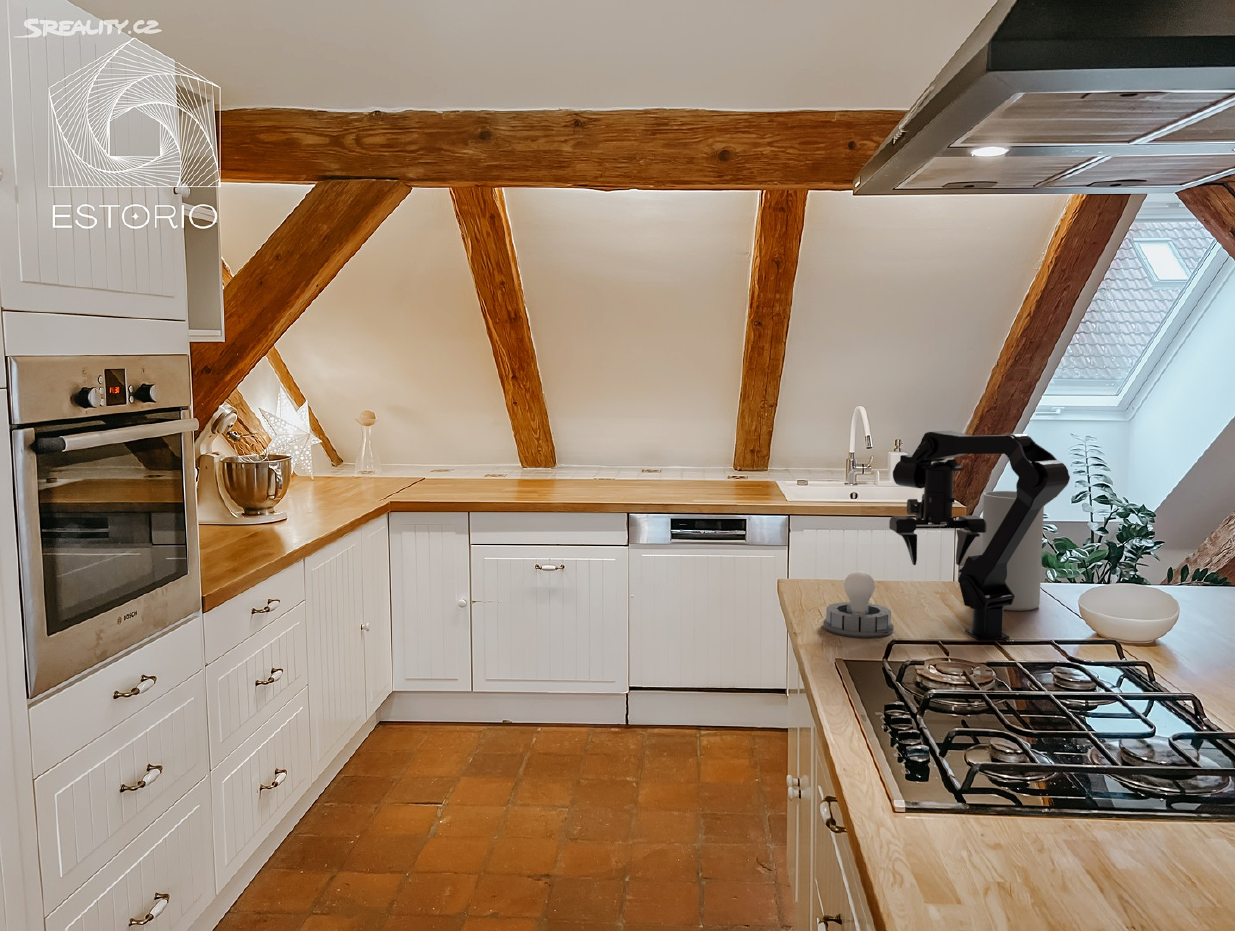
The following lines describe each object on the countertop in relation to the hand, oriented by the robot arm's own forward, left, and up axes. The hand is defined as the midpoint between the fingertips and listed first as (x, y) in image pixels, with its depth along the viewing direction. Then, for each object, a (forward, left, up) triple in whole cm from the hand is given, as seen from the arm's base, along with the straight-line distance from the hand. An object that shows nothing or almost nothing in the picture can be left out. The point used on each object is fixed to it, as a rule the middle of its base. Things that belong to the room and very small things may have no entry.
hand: (936, 564), depth 204 cm
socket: (-5, +18, -12) cm, 22 cm away
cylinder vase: (+12, -22, -12) cm, 28 cm away
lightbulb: (-5, +18, -11) cm, 22 cm away
